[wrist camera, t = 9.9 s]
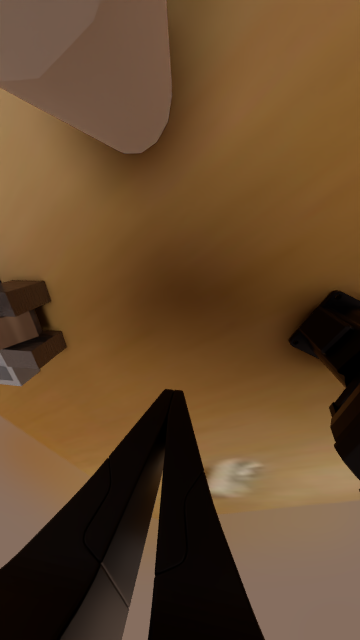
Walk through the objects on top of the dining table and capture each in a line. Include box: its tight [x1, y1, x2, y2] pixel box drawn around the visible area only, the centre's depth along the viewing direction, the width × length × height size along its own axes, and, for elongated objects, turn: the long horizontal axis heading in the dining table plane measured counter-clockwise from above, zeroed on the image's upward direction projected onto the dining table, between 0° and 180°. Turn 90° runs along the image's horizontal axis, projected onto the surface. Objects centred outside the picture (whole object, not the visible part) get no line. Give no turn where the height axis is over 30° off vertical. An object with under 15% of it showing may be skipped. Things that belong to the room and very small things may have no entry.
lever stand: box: [0, 280, 66, 369], centre depth 20 cm, size 4×9×4 cm, turn 1°
